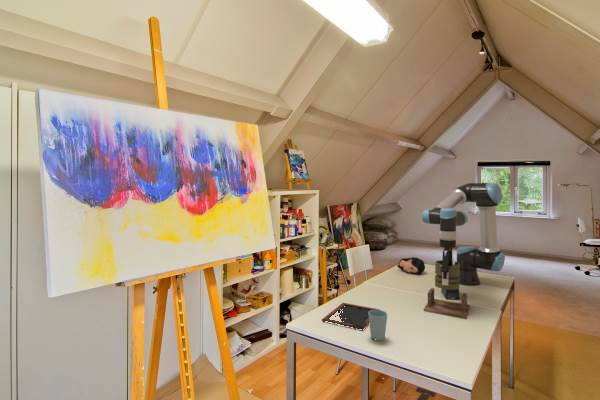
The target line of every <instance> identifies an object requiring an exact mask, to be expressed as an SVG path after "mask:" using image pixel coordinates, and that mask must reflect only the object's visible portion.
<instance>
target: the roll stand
mask: <svg viewBox="0 0 600 400" xmlns="http://www.w3.org/2000/svg"><path fill="white" fill-rule="evenodd" d="M467 302H468V293H466V292H463V294H462V296H461V298H460V302H456V301H452V300H451V301H450V300H444V299H439V298H438V299H437V298H435V288H433V287H431V288H430V289H429V291H428V292H427V303H426V305H425V306H424V308H423V312H426V313H427V312H428V313H432V314H438V315H443V316H449V317H453V318H458V319H464V320H466V319H467V316H468V314H469V310H470V307H471V304H468V303H467Z"/></svg>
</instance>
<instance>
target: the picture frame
mask: <svg viewBox="0 0 600 400" xmlns="http://www.w3.org/2000/svg"><path fill="white" fill-rule="evenodd" d="M344 306H345V307H344ZM340 309H341V310H342V309H343V310H342V311H343V313H342V311H341V310H340ZM371 310H381V309H380V308H374V307H369V306H368V307H367V306H365V305H364V306H363V305H358V304H351V303H347V302H342V303H341V304H340V305H338V306H337V307H336V308H334V309H333V310H332V311H331V312H330V313H328V314H327V315H325V316H324V317H323V318H322V319H321V322H322V321H328V322H332V323H337V324H340V325H344V326H349V327H353V328H357V329H362V330H363V329H364V328H365V327H366V326H367V325H368V324H369V315H368V312H369V311H371ZM337 311H338V313H340V311H341V313H340V314H339V317H340V319H341V318H342V319H341V321H342V322H339V321H335V320H330V319H329V318H330V317H331V316H332V315H334V314H335V313H336V312H337ZM340 315H341V316H340ZM337 316H338V315H337ZM335 317H336V316H335ZM345 318H346V319H345ZM343 321H344V322H343ZM369 325H370V324H369ZM369 325H368V326H369ZM368 326H367V327H368ZM367 327H366V328H367ZM366 328H365V329H366Z"/></svg>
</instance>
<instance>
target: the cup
mask: <svg viewBox="0 0 600 400" xmlns="http://www.w3.org/2000/svg"><path fill="white" fill-rule="evenodd" d="M368 315H369V323H370V324H369V330H370V338H371V337H372V338H373V339H376V340H382V341H384V340H385V339H384V338H386V329H387V320H388V312H386V311H384V310H381V309H380V310H371V311H369V312H368ZM372 338H371V339H372ZM373 339H372V340H373ZM383 339H384V340H383ZM376 340H375V341H376Z"/></svg>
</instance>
